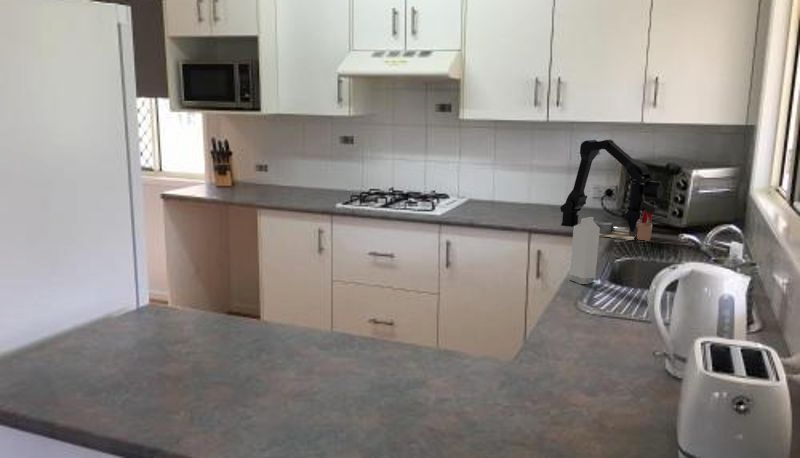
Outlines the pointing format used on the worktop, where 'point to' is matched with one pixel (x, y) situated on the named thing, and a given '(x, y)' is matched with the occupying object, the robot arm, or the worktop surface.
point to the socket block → (644, 231)
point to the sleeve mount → (606, 232)
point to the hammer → (624, 230)
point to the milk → (585, 249)
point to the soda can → (645, 218)
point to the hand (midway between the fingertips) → (632, 231)
